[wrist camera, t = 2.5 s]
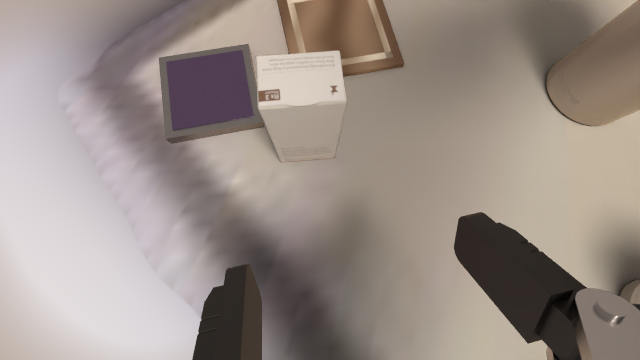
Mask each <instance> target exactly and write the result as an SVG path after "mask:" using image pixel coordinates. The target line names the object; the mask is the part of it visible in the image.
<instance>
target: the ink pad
mask: <svg viewBox="0 0 640 360" xmlns="http://www.w3.org/2000/svg"><path fill="white" fill-rule="evenodd" d="M159 65H160V77H161V89H162V101H163V113H164V124H165V136H166V140H168V141H169V142H170V143H177V142H182V141H188V140H193V139H199V138H204V137H210V136H215V135H221V134H226V133H232V132H237V131H243V130H248V129H254V128H259V127H264V123H263V119H262V116H261V114H260V112H259V110H258V103H257V85H256V79H255V74H254V68H253V63H252V58H251V52H250V48H249V45H248V44H245V45H238V46H232V47H225V48H219V49H212V50H206V51H199V52H193V53H187V54H180V55H174V56H167V57H161V58H159Z"/></svg>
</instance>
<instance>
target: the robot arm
mask: <svg viewBox="0 0 640 360" xmlns="http://www.w3.org/2000/svg"><path fill="white" fill-rule="evenodd" d="M546 84H547V91H548V93H549V96H550V98H551V100H552V101H553V103H554V105H555V106H556V107H557V108H558V109H559V110H560V111H561V112H562V113H563V114H564V115H566V116H567V117H569V118H570V119H572V120H574V121H576V122H579V123H581V124H585V125H590V126H600V125H605V124H608V123H610V122H613V121H615V120H617V119H620V118H622V117H624V116H627V115H629V114H631V113H633V112H636V111H638V110H640V0H637V1H636V2H635V3H634V4H632V5H631V6H630V7H628V8H627V9H626V10H624V11H623V12H622V13H621V14H619V15H618V16H617V17H615V18H614V19H613V20H611V21H610V22H609V23H608V24H606V25H605V26H604V27H602V28H601V29H600V30H599V31H597V32H596V33H595V34H593V35H592V36H591V37H589V38H588V39H587V40H585V41H584V42H583V43H582V44H580V45H579V46H578V47H576V48H575V49H574V50H573V51H571V52H570V53H569V54H567V55H566V56H565V57H564V58H562V59H561V60H560V61H558V62H557V63H556V64H555V65H553V66H552V68H551V69H550V70H549V73H548V75H547V82H546ZM454 250H455V254H456V256H457V258H458V260H459V262H460V263H461V264H462V265H463V266H464V268H465V269H466V270H467V271H468V272H469V274H470V275H471V276H472V277H473V278H474V280H475V281H476V282H477V283H478V284H479V286H480V287H481V288H482V289H483V290H484V292H485V293H486V294H487V295H488V296H489V298H490V299H491V300H492V301H493V302H494V304H495V305H496V306H497V307H498V308H499V309H500V311H501V312H502V313H503V314H504V315H505V317H506V318H507V319H508V320H509V321H510V323H511V324H512V325H513V326H514V327H515V329H516V330H517V331H518V332H519V333H520V335H521V336H522V337H523V338H524V339H525V341H526V342H527V343H532V342H535V341H539V340H543V341H544V342H545V343H546V345H547V346H548V347H547V350H546V355H547V360H640V304H631V303H630V302H628V301H627V300H625V299H623V298H621V297H620V296H618V295H615V294H613V293H610V292H608V291H604V290H601V289H594V288H586V287H585V286H584V285H582V284H581V283H580V282H579V281H577V280H576V279H575V278H574V277H572V276H571V275H570V274H569V273H568V272H566V271H565V270H564V269H563V268H561V267H560V266H559V265H558V264H556V263H555V262H554V261H553V260H551V259H550V258H549V257H548V256H546V255H545V254H544V253H543V252H542V251H541V252H540V251H539V250H538V248H537V247H535V246H534V245H533V244H532V243H529V242H528V240H527V239H525V238H524V237H523V236H522V235H520V234H519V233H518V232H517V231H515V230H514V229H512V228H509V227H507V226H505V225H503V224H501V223H495V222H494V221H493V220H492V219H491V218H489V217H488V216H487V215H486V214H484V213H482V212H479V213H475V214H471V215H466V216H462V217H460V218H459V221H458V226H457V232H456V238H455V244H454ZM201 319H202V320H201V321H200V326H199V334H198V336H197V340H196V345H195V350H194V355H193V360H262V302H261V296H260V291H259V289H258V286H257V283H256V280H255V278H254V275H253V272H252V269H251V267H250V265H249V264H246V265H241V266H237V267H232V268H228V269H227V270H226V274H225V281H224V285H223V286H219V287H214V288H213V289H212V291H211V293H210V294H209V296H208V297H207V299H206V301H205V302H204V307H203V312H202V317H201Z"/></svg>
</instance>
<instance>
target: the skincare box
mask: <svg viewBox="0 0 640 360" xmlns="http://www.w3.org/2000/svg"><path fill="white" fill-rule="evenodd" d="M256 77H257V103H258V110H259V112H260V114H261V116H262V119H263V121H264V123H265V126H266V128H267V130H268V133H269V135H270V138H271V140H272V143H273V145H274V147H275V150H276V152H277V154H278V157H279V159H280V161H281V162H289V161H303V160H316V159H329V158H335V154H336V150H337V145H338V141H339V136H340V132H341V128H342V123H343V118H344V112H345V108H346V105H347V98H346V93H345V86H344V79H343V72H342V65H341V55H340V51H325V52H311V53H297V54H282V55H267V56H256Z"/></svg>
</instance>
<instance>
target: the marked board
mask: <svg viewBox="0 0 640 360" xmlns="http://www.w3.org/2000/svg"><path fill="white" fill-rule="evenodd" d="M277 1H278V5H279V10H280V14H281V19H282V23H283V27H284V32H285V36H286V41H287V45H288V50H289V54H297V53H311V52H325V51H340V55H341V65H342V72H343V77H344V76H350V75H356V74H362V73H368V72H373V71H379V70H385V69H391V68H397V67H403V65H404V62H403V59H402V56H401V53H400V50H399V47H398V44H397V41H396V38H395V35H394V33H393V30H392V27H391V24H390V21H389V18H388V15H387V12H386V9H385V6H384V4H383V1H382V0H277Z"/></svg>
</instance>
